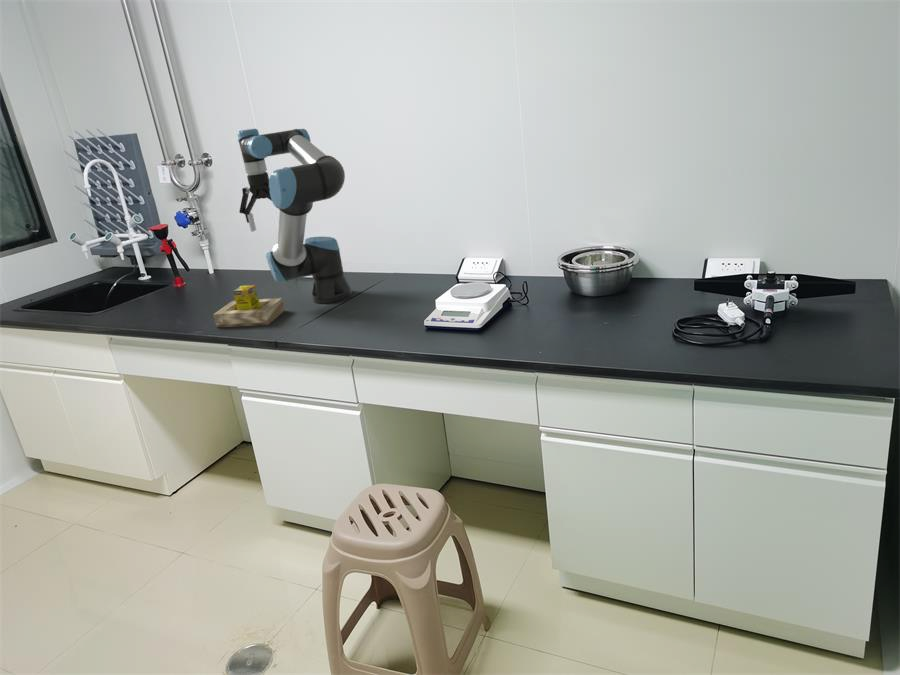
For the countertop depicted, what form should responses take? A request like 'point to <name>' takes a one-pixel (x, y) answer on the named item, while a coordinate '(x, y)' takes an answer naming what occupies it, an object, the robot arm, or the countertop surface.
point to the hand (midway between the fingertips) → (269, 229)
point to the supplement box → (246, 298)
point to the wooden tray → (249, 314)
